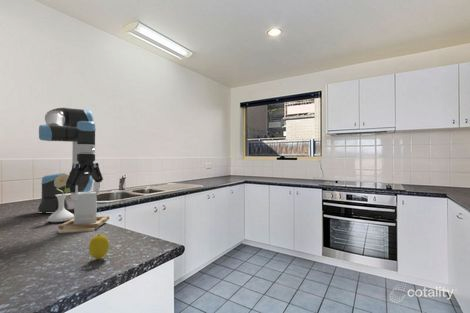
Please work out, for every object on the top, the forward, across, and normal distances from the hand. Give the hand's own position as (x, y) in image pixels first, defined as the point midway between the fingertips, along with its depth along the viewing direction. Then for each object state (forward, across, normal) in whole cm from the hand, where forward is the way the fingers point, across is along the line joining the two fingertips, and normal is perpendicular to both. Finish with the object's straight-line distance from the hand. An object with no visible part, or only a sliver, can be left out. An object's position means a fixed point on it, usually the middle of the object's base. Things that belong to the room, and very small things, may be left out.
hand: (85, 197), depth 116 cm
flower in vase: (+14, +5, +19) cm, 24 cm away
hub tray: (+14, 0, 0) cm, 14 cm away
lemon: (+13, -35, -35) cm, 51 cm away
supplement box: (+13, -1, 0) cm, 13 cm away
